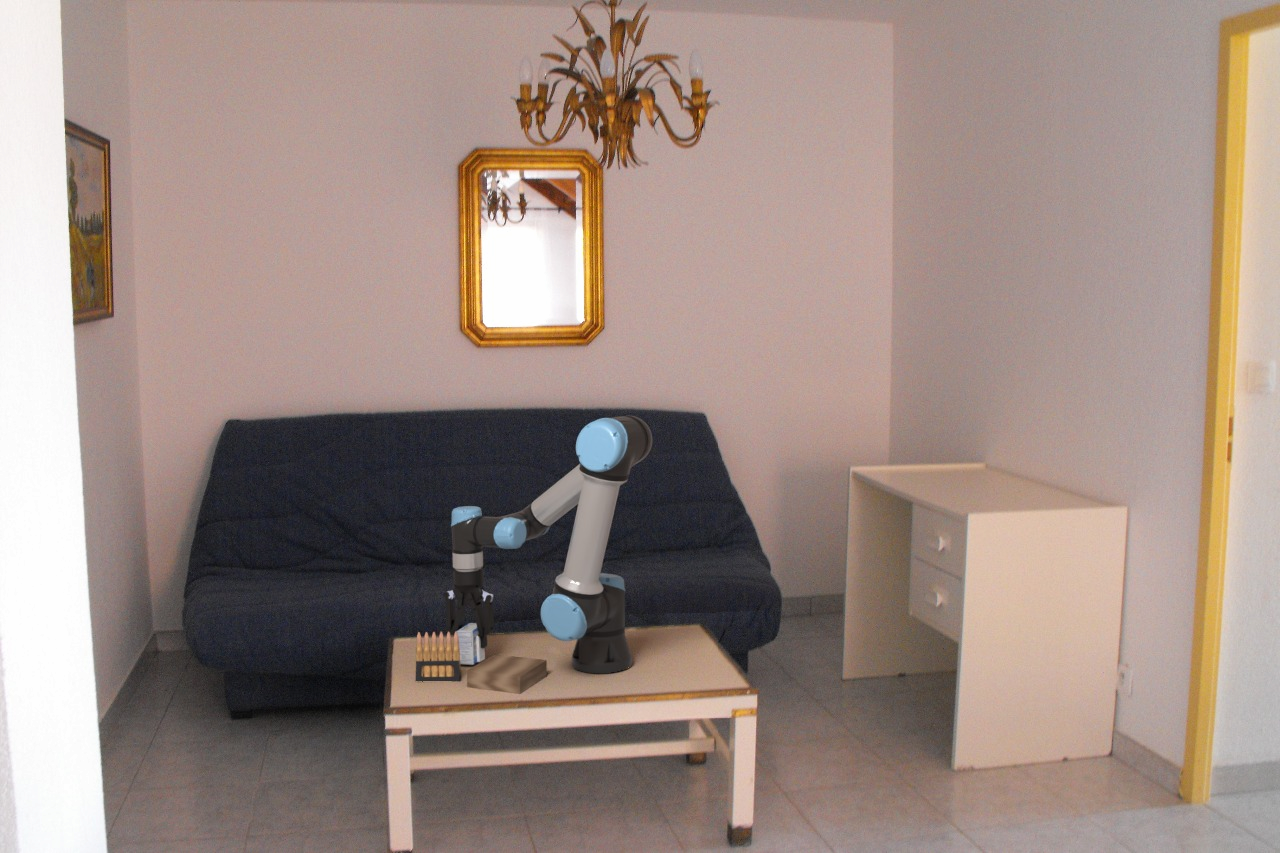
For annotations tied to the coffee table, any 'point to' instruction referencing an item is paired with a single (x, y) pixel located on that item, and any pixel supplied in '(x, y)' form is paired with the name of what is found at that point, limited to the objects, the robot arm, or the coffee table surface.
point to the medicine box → (468, 644)
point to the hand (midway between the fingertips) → (471, 659)
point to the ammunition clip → (438, 659)
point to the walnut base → (506, 673)
